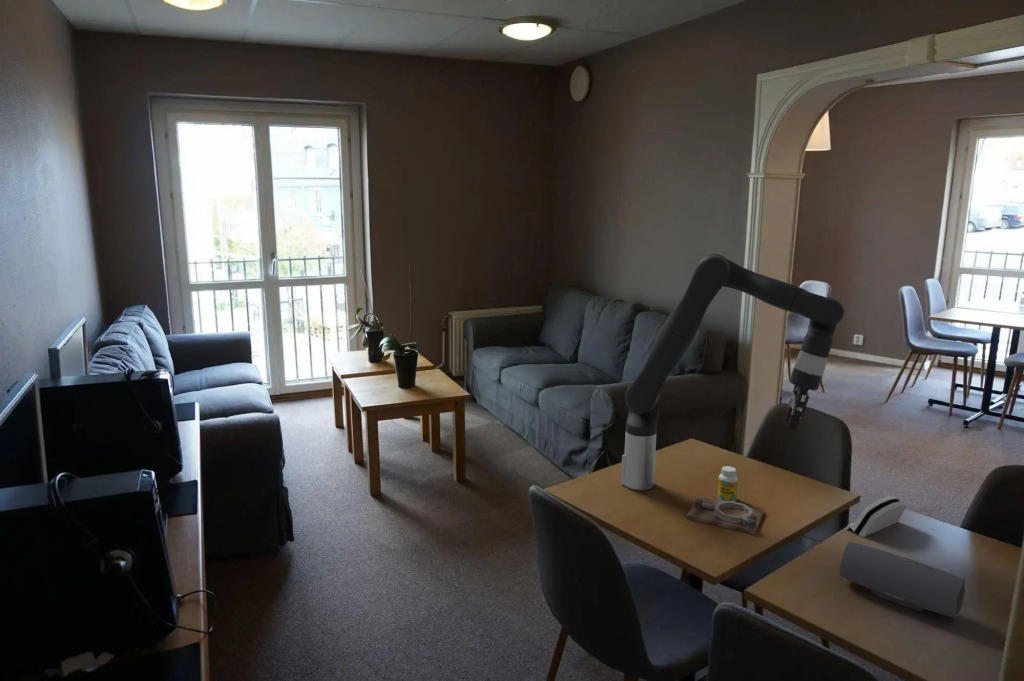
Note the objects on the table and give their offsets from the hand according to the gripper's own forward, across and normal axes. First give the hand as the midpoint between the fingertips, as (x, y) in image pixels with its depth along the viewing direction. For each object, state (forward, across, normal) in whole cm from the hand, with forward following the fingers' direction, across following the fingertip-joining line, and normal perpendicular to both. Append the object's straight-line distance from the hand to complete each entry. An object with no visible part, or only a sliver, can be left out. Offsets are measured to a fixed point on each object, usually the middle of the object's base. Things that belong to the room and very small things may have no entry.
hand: (790, 425), depth 187 cm
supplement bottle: (+28, -5, -9) cm, 30 cm away
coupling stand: (+29, +6, -9) cm, 31 cm away
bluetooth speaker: (+23, +36, +27) cm, 51 cm away
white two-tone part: (+21, +1, +29) cm, 35 cm away
